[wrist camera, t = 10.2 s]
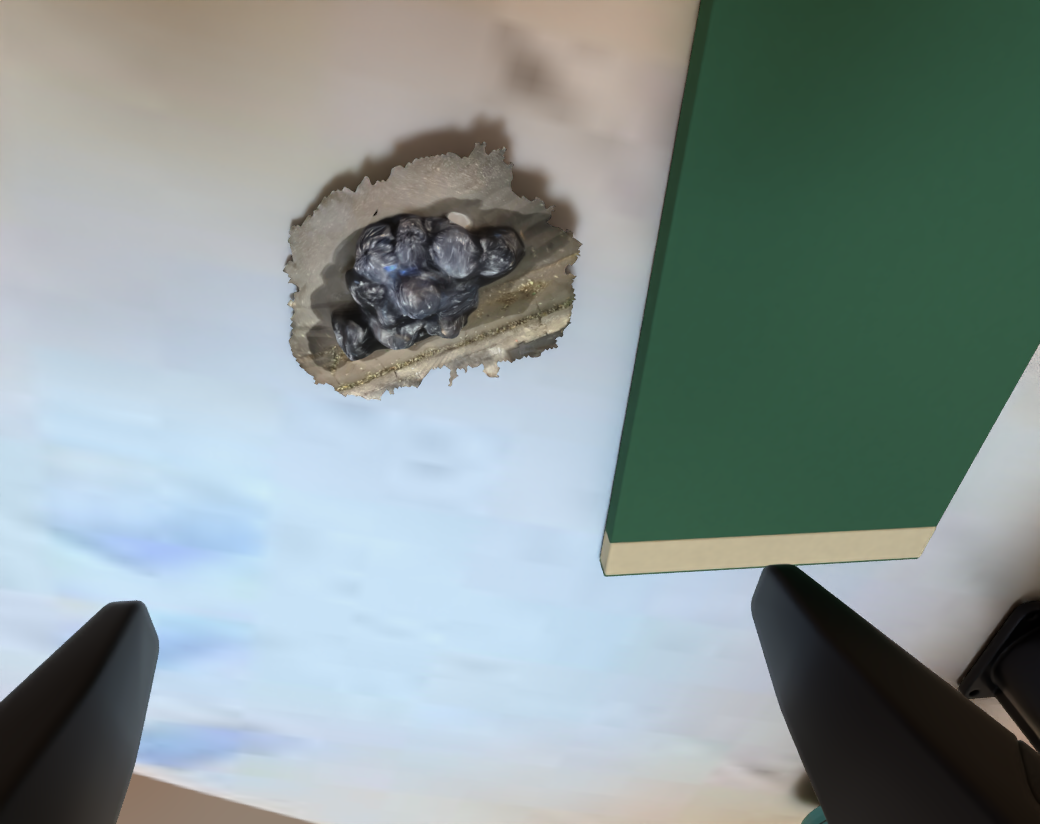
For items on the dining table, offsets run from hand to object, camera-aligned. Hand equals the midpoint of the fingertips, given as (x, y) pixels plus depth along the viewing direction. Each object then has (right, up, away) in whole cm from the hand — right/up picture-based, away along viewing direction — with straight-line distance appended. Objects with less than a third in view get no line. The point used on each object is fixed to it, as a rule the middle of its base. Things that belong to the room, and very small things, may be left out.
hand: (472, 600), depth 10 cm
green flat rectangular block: (+10, +6, +9) cm, 15 cm away
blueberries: (-2, +6, +8) cm, 10 cm away
